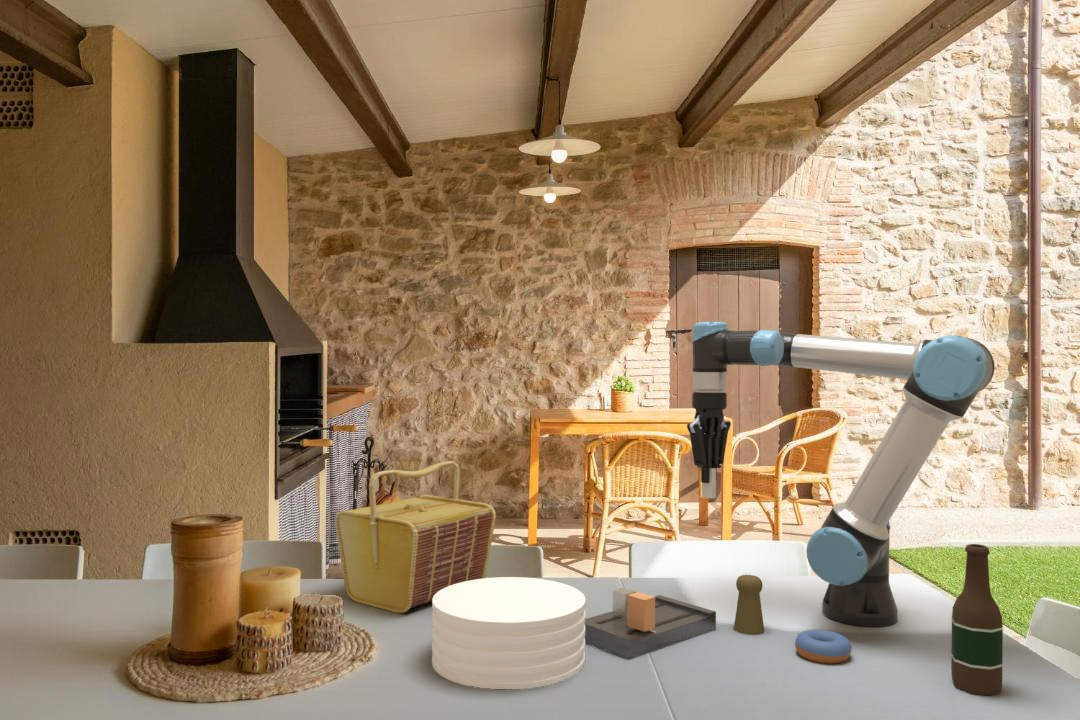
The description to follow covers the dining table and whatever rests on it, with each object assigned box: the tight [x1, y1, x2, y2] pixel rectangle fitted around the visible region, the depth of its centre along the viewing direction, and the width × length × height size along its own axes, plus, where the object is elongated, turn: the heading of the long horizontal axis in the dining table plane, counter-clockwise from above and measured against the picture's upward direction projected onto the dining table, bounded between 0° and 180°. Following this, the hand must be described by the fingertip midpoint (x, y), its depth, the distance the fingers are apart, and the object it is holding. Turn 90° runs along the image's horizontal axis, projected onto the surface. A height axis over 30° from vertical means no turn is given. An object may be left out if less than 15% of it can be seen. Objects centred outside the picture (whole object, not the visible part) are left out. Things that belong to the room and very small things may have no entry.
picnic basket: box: [334, 460, 497, 614], centre depth 190 cm, size 29×26×30 cm
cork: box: [733, 574, 765, 636], centre depth 167 cm, size 6×6×11 cm
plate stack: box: [431, 576, 587, 690], centre depth 150 cm, size 28×28×12 cm
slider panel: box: [584, 587, 717, 660], centre depth 165 cm, size 15×26×8 cm, turn 131°
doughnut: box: [794, 629, 852, 665], centre depth 153 cm, size 10×10×5 cm
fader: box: [627, 591, 655, 632], centre depth 158 cm, size 4×3×6 cm
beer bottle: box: [950, 543, 1004, 697], centre depth 139 cm, size 8×8×24 cm
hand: (708, 497), depth 182 cm, fingers closed
